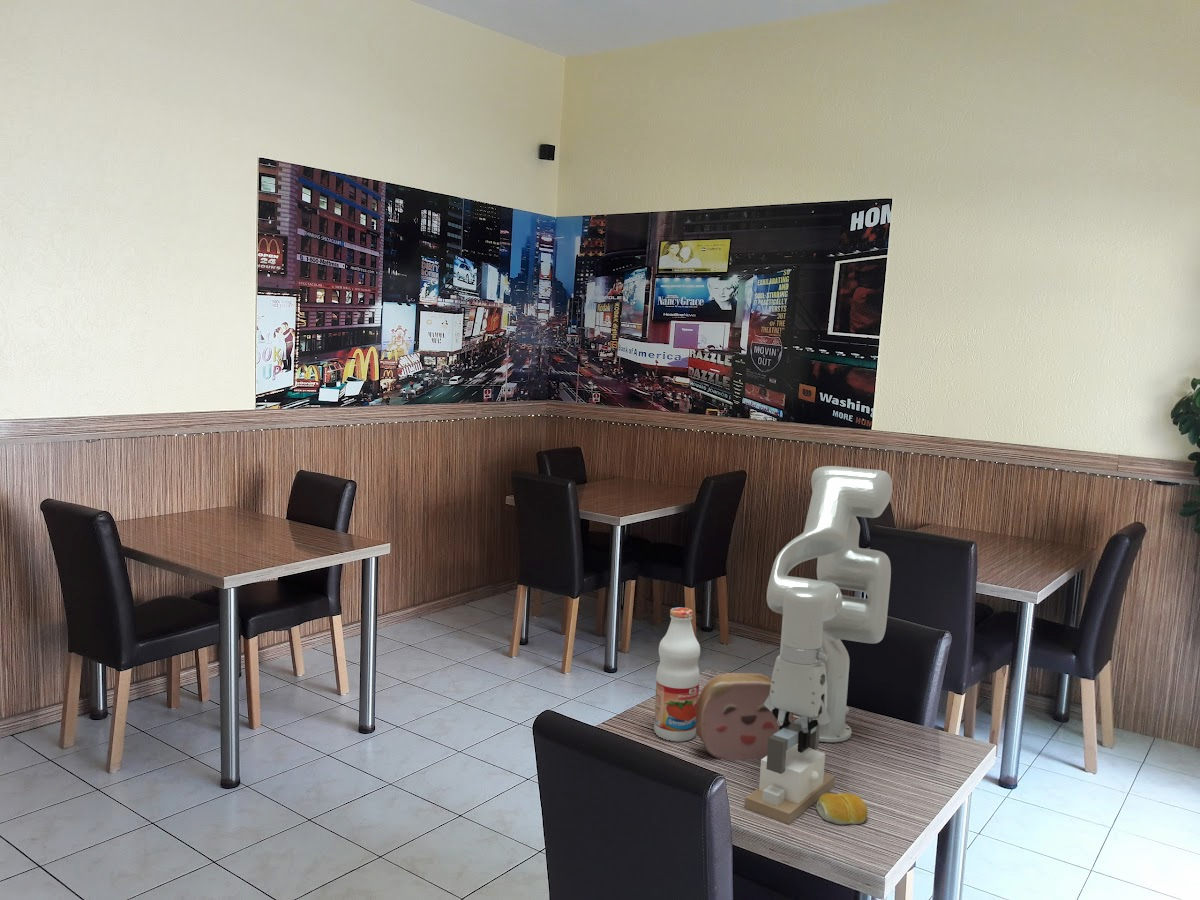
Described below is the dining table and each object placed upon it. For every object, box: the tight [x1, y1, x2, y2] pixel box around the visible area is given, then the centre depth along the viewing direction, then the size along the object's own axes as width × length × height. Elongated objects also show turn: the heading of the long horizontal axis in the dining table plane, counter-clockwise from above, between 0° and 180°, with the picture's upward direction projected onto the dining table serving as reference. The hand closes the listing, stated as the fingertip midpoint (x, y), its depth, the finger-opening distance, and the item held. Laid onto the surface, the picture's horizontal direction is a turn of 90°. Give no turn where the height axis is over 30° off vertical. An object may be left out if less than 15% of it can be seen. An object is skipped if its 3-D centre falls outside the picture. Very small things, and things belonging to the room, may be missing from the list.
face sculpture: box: [696, 672, 795, 761], centre depth 195 cm, size 20×7×17 cm, turn 96°
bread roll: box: [815, 792, 868, 825], centre depth 172 cm, size 8×9×4 cm
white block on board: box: [744, 744, 836, 825], centre depth 177 cm, size 20×10×8 cm, turn 142°
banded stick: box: [766, 716, 820, 774], centre depth 176 cm, size 16×3×6 cm, turn 142°
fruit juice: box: [653, 606, 701, 742], centre depth 203 cm, size 9×9×28 cm
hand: (793, 746), depth 176 cm, fingers closed on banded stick, 3 cm apart
